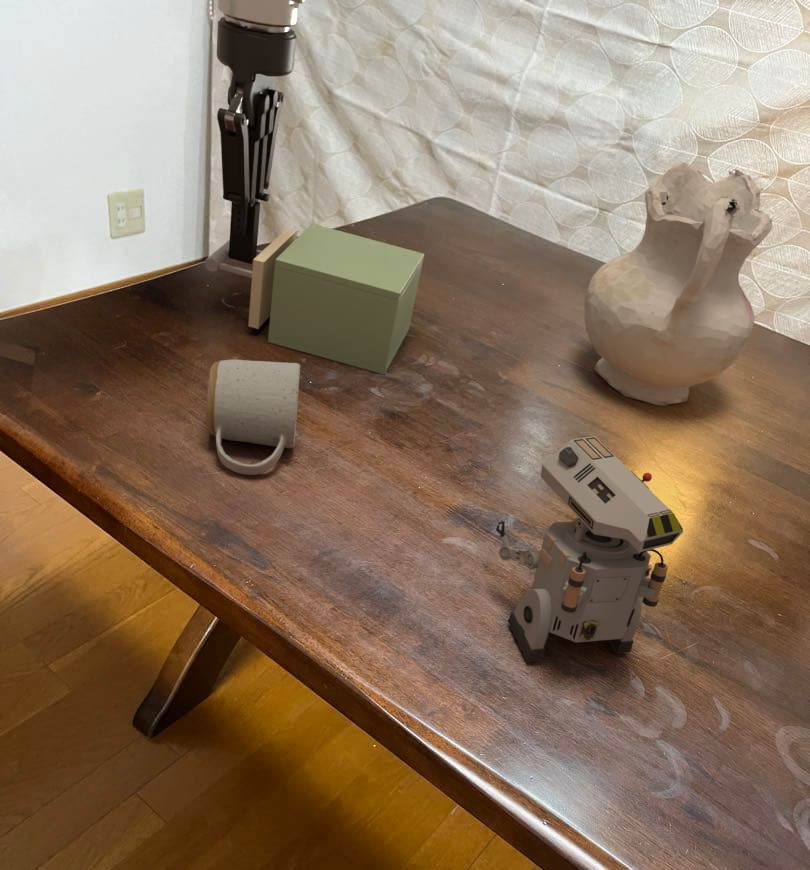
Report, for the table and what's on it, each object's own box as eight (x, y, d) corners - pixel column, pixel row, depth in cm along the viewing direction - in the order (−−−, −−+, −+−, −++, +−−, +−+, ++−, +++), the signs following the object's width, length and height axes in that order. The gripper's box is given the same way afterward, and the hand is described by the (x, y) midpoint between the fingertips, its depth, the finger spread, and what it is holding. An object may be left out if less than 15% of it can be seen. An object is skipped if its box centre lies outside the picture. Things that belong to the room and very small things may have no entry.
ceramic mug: (211, 409, 83) (214, 338, 79) (296, 419, 85) (304, 349, 80) (199, 474, 75) (202, 399, 71) (293, 484, 77) (302, 411, 72)
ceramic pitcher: (734, 452, 99) (860, 243, 84) (575, 413, 95) (677, 189, 80) (686, 363, 116) (784, 176, 100) (549, 328, 112) (630, 129, 97)
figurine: (576, 570, 75) (636, 424, 65) (636, 670, 66) (716, 519, 57) (479, 575, 72) (528, 423, 62) (530, 680, 64) (595, 523, 54)
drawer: (194, 311, 96) (197, 243, 92) (232, 276, 105) (236, 212, 101) (355, 356, 95) (366, 290, 90) (380, 316, 104) (391, 254, 99)
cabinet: (267, 342, 96) (275, 259, 90) (302, 300, 106) (311, 223, 100) (384, 374, 95) (400, 293, 89) (409, 329, 105) (424, 253, 99)
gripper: (271, 40, 78) (253, 288, 92) (315, 23, 88) (292, 248, 102) (193, 20, 78) (186, 269, 93) (245, 5, 88) (232, 232, 103)
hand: (242, 258), depth 98 cm, fingers closed
